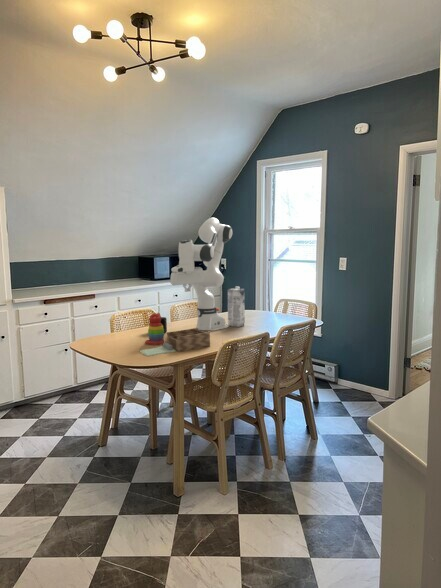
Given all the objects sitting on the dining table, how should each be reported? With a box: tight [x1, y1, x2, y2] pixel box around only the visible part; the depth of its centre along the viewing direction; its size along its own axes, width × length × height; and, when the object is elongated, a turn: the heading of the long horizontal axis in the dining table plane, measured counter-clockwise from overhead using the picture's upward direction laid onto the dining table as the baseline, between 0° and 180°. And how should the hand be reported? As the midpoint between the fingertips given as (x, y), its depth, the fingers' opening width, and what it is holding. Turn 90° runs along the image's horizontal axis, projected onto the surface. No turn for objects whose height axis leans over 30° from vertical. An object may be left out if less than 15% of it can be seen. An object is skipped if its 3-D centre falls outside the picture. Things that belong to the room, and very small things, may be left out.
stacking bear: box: [144, 312, 165, 346], centre depth 254 cm, size 11×10×18 cm
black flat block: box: [149, 316, 168, 334], centre depth 280 cm, size 4×10×10 cm, turn 78°
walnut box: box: [166, 327, 211, 353], centre depth 246 cm, size 20×14×8 cm
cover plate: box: [139, 342, 177, 357], centre depth 237 cm, size 17×11×4 cm, turn 122°
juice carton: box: [227, 286, 246, 328], centre depth 297 cm, size 9×10×27 cm
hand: (187, 291), depth 253 cm, fingers closed
